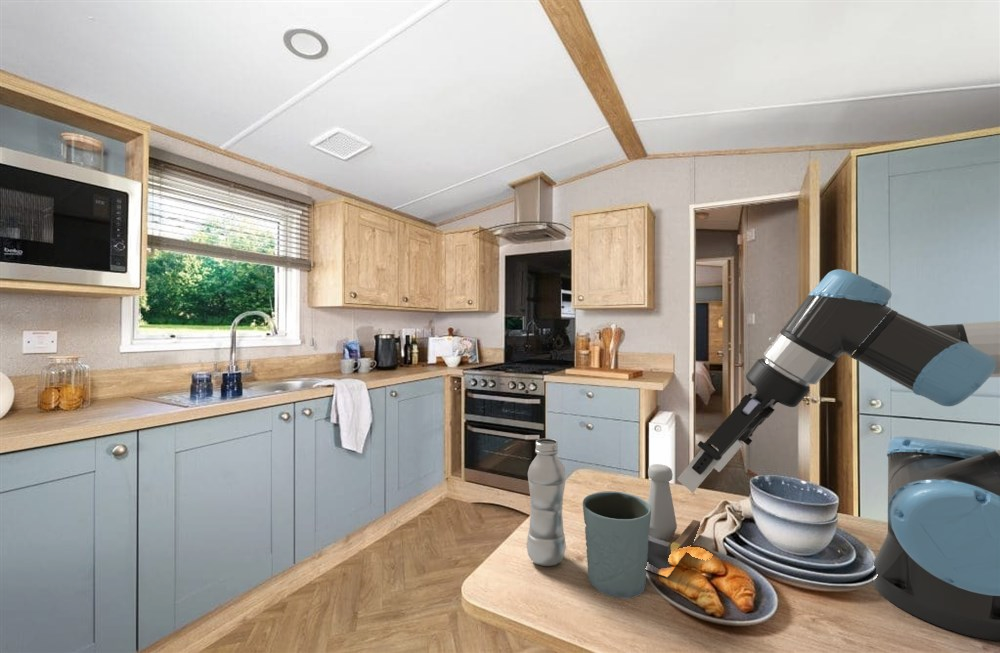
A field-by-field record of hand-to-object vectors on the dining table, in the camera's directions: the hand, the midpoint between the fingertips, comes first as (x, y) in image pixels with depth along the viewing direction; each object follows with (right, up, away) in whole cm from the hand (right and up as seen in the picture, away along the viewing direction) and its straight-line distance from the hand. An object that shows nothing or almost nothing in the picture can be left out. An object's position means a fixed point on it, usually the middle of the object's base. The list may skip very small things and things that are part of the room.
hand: (699, 475), depth 68 cm
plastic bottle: (-25, -15, +2) cm, 29 cm away
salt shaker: (-3, -15, +10) cm, 19 cm away
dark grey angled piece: (-5, -15, +8) cm, 18 cm away
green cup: (-15, -15, -4) cm, 22 cm away
